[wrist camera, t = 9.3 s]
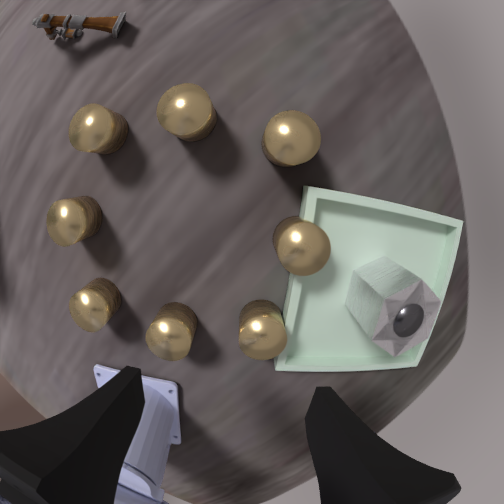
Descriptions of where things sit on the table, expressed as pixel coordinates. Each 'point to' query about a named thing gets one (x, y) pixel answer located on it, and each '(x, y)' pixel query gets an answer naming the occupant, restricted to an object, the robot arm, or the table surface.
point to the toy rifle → (78, 24)
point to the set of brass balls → (177, 314)
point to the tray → (340, 271)
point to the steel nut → (392, 305)
